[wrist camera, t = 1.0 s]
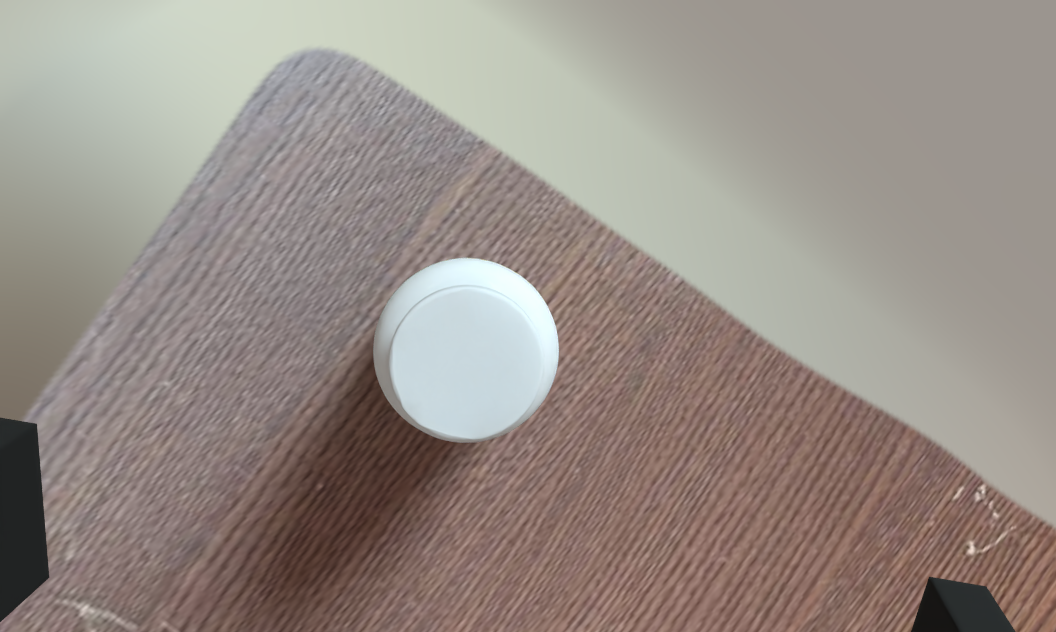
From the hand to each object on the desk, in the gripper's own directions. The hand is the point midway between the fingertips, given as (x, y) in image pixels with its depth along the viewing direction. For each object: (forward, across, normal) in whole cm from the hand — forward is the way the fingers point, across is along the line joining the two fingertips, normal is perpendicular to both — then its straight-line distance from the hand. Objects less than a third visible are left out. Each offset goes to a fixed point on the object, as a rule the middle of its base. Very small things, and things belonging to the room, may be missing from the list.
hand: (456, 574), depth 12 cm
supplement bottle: (+19, -3, -3) cm, 19 cm away
